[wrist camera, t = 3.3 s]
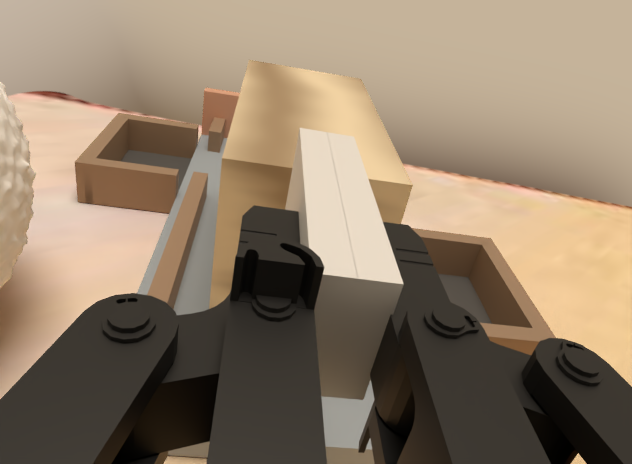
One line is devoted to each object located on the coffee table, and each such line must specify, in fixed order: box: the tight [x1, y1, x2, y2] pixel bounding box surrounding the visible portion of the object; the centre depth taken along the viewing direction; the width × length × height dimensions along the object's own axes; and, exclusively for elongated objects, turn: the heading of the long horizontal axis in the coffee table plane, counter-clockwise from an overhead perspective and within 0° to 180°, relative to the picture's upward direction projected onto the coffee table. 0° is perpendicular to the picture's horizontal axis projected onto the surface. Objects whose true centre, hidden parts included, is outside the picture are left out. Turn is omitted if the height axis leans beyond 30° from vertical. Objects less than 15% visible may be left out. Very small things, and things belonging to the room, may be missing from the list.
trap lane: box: [75, 88, 556, 464], centre depth 32 cm, size 28×32×5 cm
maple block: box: [209, 60, 413, 309], centre depth 27 cm, size 7×15×10 cm, turn 2°
